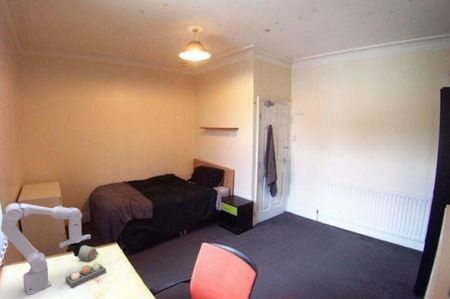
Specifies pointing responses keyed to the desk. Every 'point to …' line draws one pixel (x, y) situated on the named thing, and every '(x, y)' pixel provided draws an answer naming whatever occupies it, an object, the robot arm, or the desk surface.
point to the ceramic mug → (87, 253)
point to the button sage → (96, 267)
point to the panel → (85, 277)
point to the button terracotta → (85, 270)
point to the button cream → (75, 276)
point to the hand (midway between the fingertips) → (76, 255)
